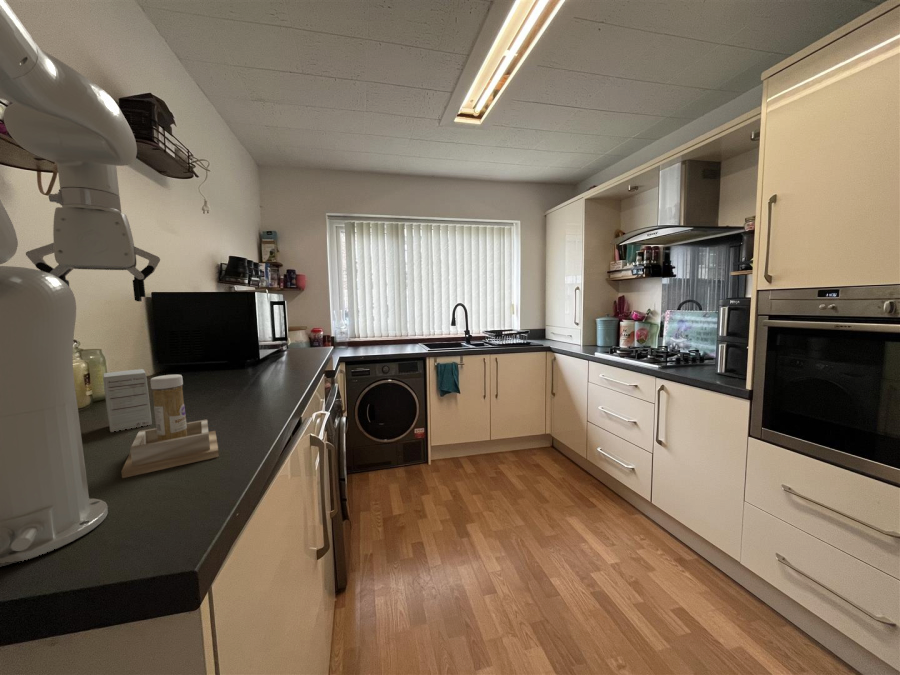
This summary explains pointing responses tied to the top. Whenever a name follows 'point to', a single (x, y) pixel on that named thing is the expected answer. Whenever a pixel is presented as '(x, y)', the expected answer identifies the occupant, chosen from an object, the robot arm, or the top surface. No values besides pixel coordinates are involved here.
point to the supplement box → (127, 399)
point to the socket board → (170, 449)
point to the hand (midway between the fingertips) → (103, 301)
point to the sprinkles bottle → (169, 407)
